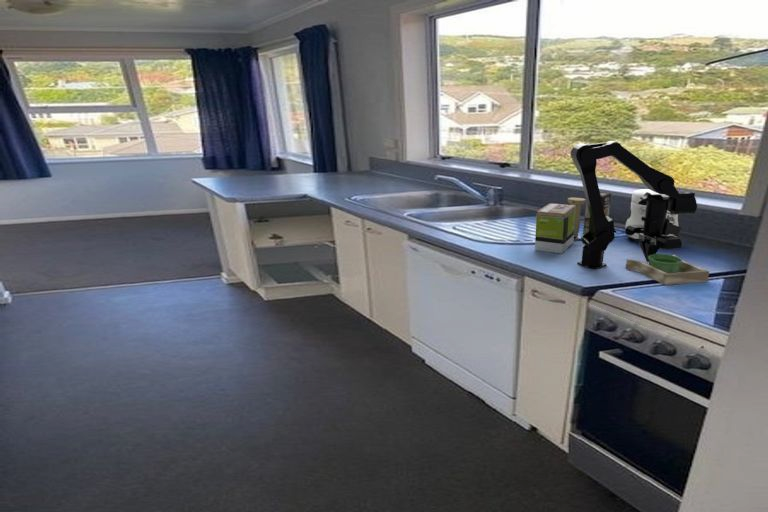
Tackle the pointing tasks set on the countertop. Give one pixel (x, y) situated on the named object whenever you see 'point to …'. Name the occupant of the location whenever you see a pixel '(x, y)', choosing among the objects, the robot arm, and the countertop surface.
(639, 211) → the milk container
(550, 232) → the tea box
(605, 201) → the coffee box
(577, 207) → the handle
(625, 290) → the countertop surface
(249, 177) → the countertop surface
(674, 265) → the ramekin
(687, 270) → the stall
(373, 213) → the countertop surface
